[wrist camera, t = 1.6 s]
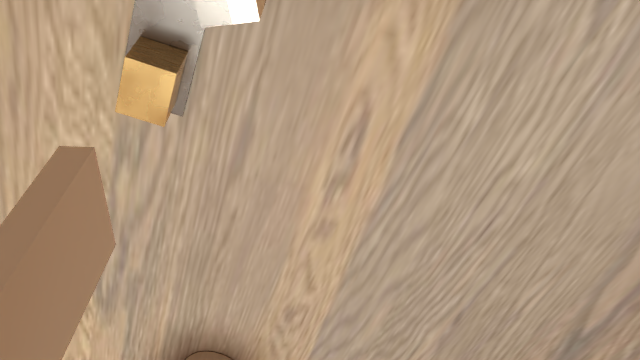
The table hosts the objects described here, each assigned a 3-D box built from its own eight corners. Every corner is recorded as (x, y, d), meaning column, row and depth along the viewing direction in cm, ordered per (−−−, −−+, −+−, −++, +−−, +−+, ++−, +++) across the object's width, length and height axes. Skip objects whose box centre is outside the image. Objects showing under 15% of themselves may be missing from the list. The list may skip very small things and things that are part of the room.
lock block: (140, 36, 40) (124, 57, 37) (187, 52, 40) (176, 73, 38) (130, 88, 42) (115, 111, 39) (175, 102, 43) (164, 126, 40)
